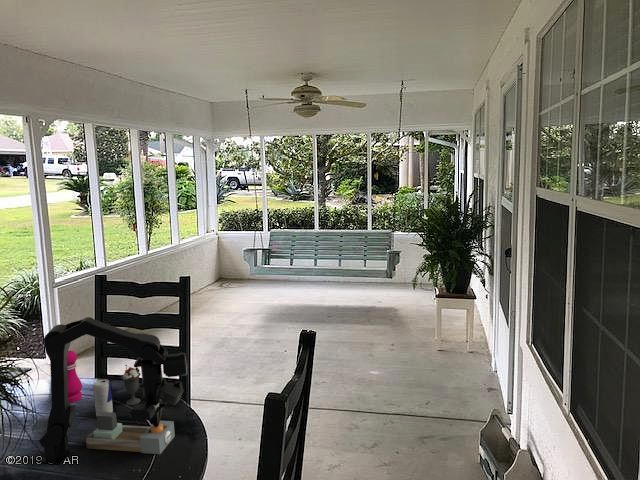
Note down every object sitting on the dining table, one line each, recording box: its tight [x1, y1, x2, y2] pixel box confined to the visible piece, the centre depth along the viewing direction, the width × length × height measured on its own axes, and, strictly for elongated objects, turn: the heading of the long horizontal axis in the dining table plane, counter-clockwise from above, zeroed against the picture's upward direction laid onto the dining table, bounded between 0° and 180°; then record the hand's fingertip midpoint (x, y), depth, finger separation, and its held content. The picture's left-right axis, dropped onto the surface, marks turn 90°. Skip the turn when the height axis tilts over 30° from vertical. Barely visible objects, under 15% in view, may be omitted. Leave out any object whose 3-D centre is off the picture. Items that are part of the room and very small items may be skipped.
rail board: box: [85, 424, 150, 453], centre depth 162 cm, size 9×18×4 cm, turn 81°
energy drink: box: [92, 378, 114, 417], centre depth 178 cm, size 5×5×12 cm
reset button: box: [150, 423, 163, 434], centre depth 159 cm, size 4×4×4 cm
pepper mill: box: [67, 349, 83, 404], centre depth 190 cm, size 7×7×20 cm
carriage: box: [92, 412, 123, 439], centre depth 162 cm, size 6×6×7 cm
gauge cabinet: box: [140, 420, 176, 455], centre depth 160 cm, size 10×6×5 cm, turn 171°
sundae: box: [120, 364, 142, 406], centre depth 187 cm, size 7×7×15 cm
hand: (156, 426), depth 159 cm, fingers closed, pressing on reset button
